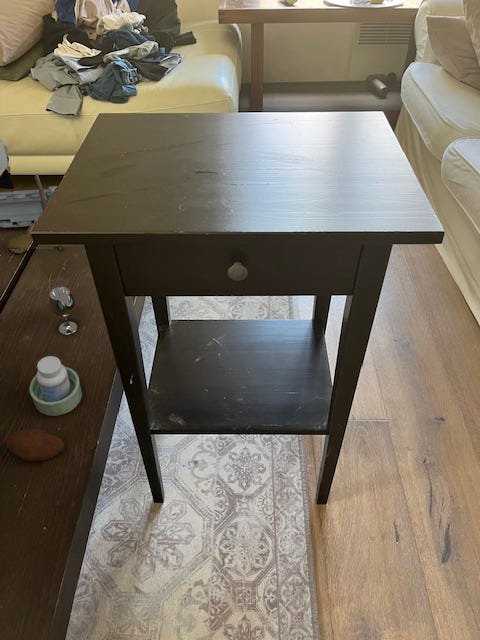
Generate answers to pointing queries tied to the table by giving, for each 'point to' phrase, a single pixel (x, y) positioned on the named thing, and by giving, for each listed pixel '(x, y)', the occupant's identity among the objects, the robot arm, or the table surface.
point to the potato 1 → (20, 242)
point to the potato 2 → (34, 444)
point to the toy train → (22, 207)
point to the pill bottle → (53, 379)
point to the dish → (57, 406)
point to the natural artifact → (42, 195)
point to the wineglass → (63, 307)
